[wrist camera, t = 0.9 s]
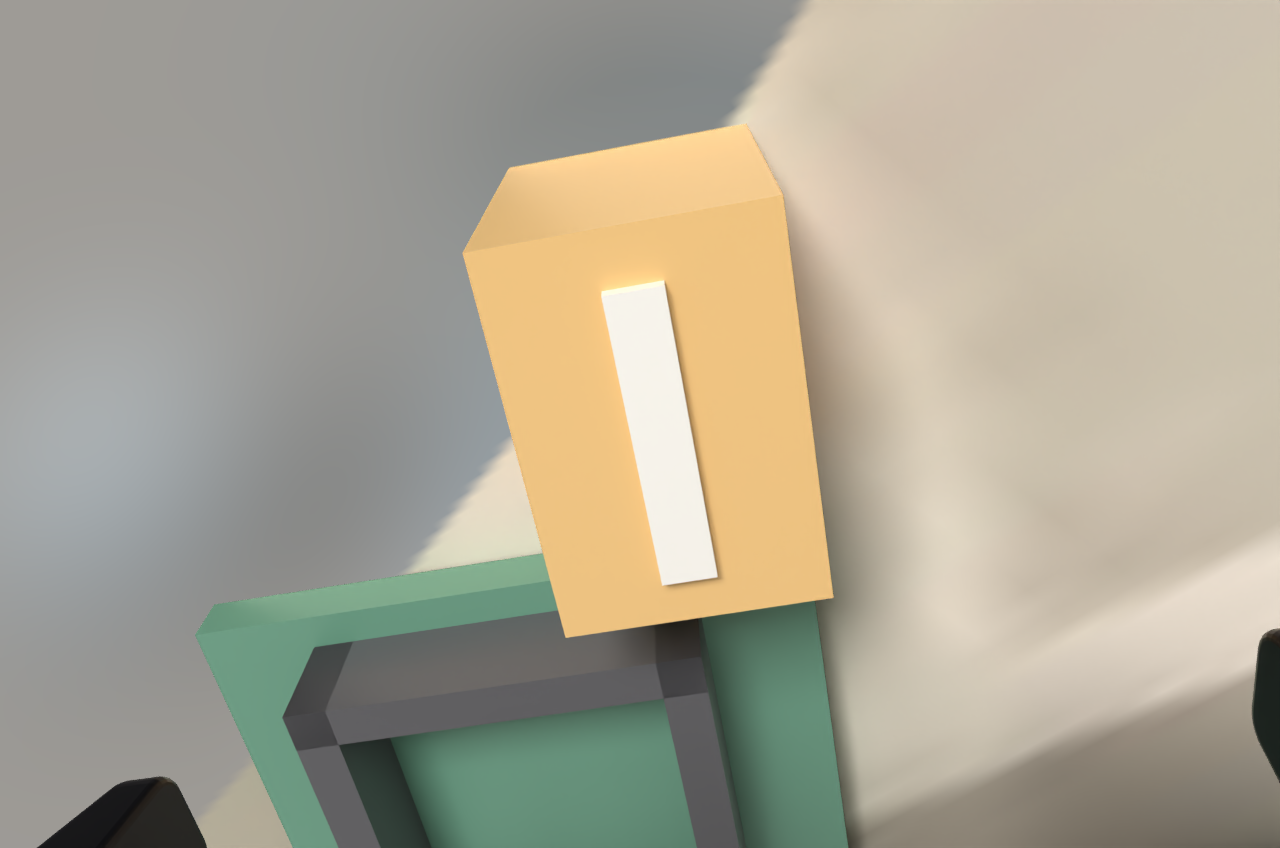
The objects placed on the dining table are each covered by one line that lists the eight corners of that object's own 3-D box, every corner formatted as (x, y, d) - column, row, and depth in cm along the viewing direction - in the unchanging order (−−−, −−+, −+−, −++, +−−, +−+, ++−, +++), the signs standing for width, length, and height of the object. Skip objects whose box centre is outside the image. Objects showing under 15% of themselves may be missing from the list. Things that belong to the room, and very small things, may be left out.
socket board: (852, 901, 25) (878, 1021, 22) (372, 961, 26) (340, 1082, 23) (799, 513, 20) (823, 605, 17) (214, 604, 21) (151, 704, 18)
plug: (789, 442, 20) (835, 605, 15) (582, 475, 20) (565, 646, 15) (745, 123, 17) (785, 199, 12) (509, 167, 17) (460, 258, 13)
